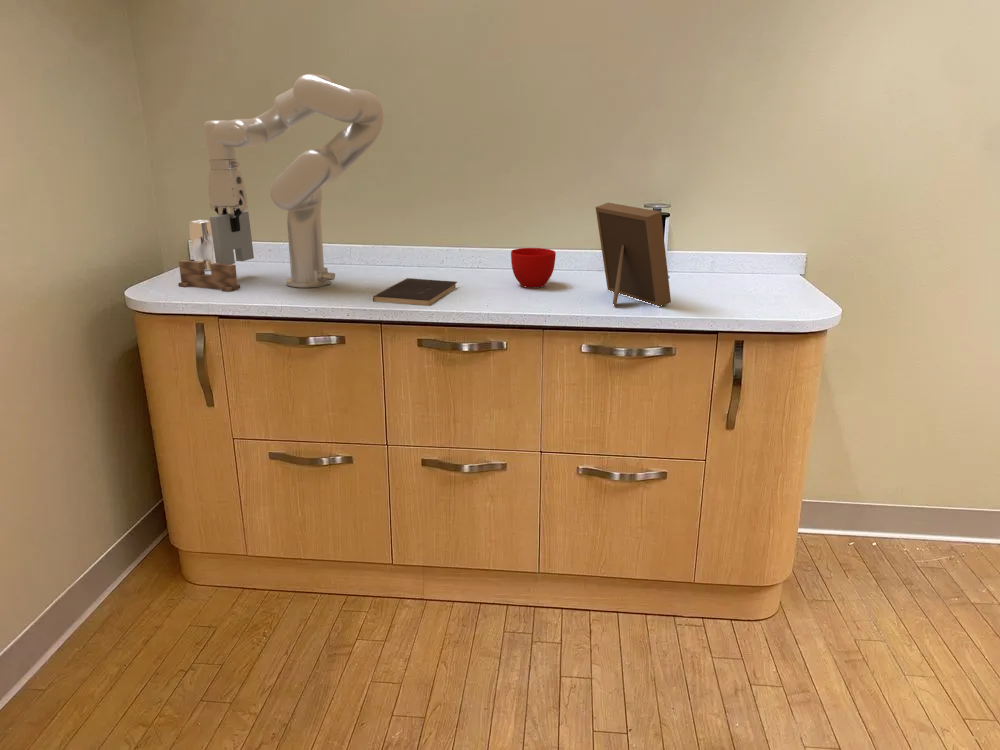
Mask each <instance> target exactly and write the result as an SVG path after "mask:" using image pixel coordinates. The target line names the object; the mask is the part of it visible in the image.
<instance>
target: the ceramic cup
mask: <svg viewBox="0 0 1000 750" xmlns="http://www.w3.org/2000/svg"><path fill="white" fill-rule="evenodd" d="M556 254H557V253H556V251H555V250H554V249H548V248H543V247H542V248H541V247H522V248H516V249H512V250H511V252H510V260H511V261H510V263H511V269H512V272H513V276H514V277H515V279H516V280H517V281H518V283H519V284H520V286H521V285H522V286H521V287H523V286H526V287H525V288H527V287H539V288H542V287H541V286H543V287H544V286H546V284H547V282H548V281H549V280H550V279H551V277H552V275H553V272H554V269H555V264H556V257H557V256H556Z"/></svg>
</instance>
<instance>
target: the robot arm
mask: <svg viewBox="0 0 1000 750" xmlns="http://www.w3.org/2000/svg"><path fill="white" fill-rule="evenodd" d="M317 114H320V115H324V116H325V117H328V118H331V119H334V120H337V121H339V122H343V123H346V124H347V125H346V126H344V127H343V128H342V129H340V130H339V131H338V132H337V133H336V134H335V135H334V136H333V137H332V138H331V139H330V140H329V141H328V142H326V143H325V144H324V145H322V146H320V147H313V148H310V149H307V150H305V151H303V152H302V153H301V154H299V155H298V156H297V157H296V158H295V159H294V160H293V161H292V162H291V163H290V164H289V165H288V166H287V167H285V169H284V170H282V171H281V172H280V173H279V174H278V175H277V177H276V178H275V179H274V180H273V182H272V183H271V186H270V197H271V200H272V202H273V203H274V205H275V206H276V207H278V208H279V209H281V210H285V211H287V214H286V215H287V216H286V227H287V241H288V251H289V255H288V256H289V265H290V266H289V267H290V275H291V276H290V277H289V278H287V279H286V280H285V284H286V285H287V286H288V287H291V288H292V287H293V288H304V289H305V288H307V289H308V288H319V287H323V286H328V285H330V283H331V281H334V280H335V279H336V273H335V272H329V271H328V267H325V262H324V261H325V259H324V258H325V257H324V246H323V245H324V244H323V243H324V242H323V232H322V229H323V228H322V227H323V226H322V202H323V190H322V186H324V185H325V184H330V183H333V182H335V181H337V180H339V178H340V177H341V176H342V175H343V174H345V172H346V171H347V170H348V169H350V167H352V166H353V165H354V164H355V163H356V162H357V161H358V160H359V159H360V158H361V156H363V155H364V154H365V153H366V152H367V151H368V150H369V149H370V148H371V147H372V145H374V143H376V141H377V140H378V138H379V137H380V134H381V132H382V129H383V125H384V110H383V107H382V104H381V101H380V100H379V99H378V97H377V96H376V95H375V94H374V93H372V92H371V91H369V90H366V89H355V88H349V87H346V86H344V85H340V84H337V83H335V82H334V81H333V79H331V78H330V77H328V76H327V75H323V74H314V73H307V74H306V73H305V74H302V75H301V76H299V77H298V78H297V79H296V81H295V82H294V85H293V87H292V88H290V89H288V90H286V91H284V92H282V93H280V94H279V95H277V96H275V98H274V105H273V106H272V107H271V108H270V109H268V110H266V111H265V112H263V113H262V114H259V115H257V116H255V117H253V118H236V119H231V120H223V119H221V120H220V119H216V120H214V119H213V120H207V121H205V122H204V124H203V128H204V129H203V130H204V131H203V132H204V138H205V145H206V151H207V160H208V166H209V171H208V175H207V177H208V178H207V181H208V182H207V185H208V186H207V187H208V198H209V202H210V203H209V208H210V209H211V210H213V211H215V213H216V214H217V216H218V215H223V214H229V210H230V213H231V217H232V218H230V222H231V230H232V232H237V231H240V222H239V217H240V216H241V213H242V212H243V211H246V210H248V209H249V206H248V205H247V204H248V196H247V195H248V194H247V189H246V185H245V181H244V177H243V175H242V172H241V170H238V169H239V168H238V167H240V165H241V164H240V162H239V161H237V154H236V148H242V149H243V148H249V147H250V148H251V147H259V146H263V145H264V144H267V143H268V142H270V141H272V140H275V139H276V138H278V137H280V136H282V135H284V134H285V133H286V132H288V131H290V130H291V129H292V128H293V127H294V126H296V125H299V124H300V123H301V122H303V121H305V120H307V119H309V118H312V116H315V115H317ZM228 208H229V209H228Z"/></svg>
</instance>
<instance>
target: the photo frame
mask: <svg viewBox="0 0 1000 750" xmlns="http://www.w3.org/2000/svg"><path fill="white" fill-rule="evenodd" d="M594 208H595V214H596V219H597V220H596V221H597V227H598V234H599V241H600V246H601V252H602V253H601V254H602V259H603V268H604V274H605V279H606V280H605V281H606V287H607V288H606V289H607V291H608V290H610V291H613V292H614V293H613V297H612V298H613V299H612V305H613V304H614V306H616V307H617V305H618V299H619V295H618V294H619V293H620V294H623V295H627V296H630V297H633V298H636V299H639V300H642V301H645V302H648V303H651V304H654V305H657V306H661V305H664V306H665V305H668V304H670V303H671V302H672V298H671V290H670V289H671V288H670V281H669V271H668V264H667V262H668V261H667V254H666V244H665V236H664V226H663V225H664V224H663V216H662V211H659V210H652V209H648V208H642V207H641V208H640V207H635V206H629V205H625V204H624V205H623V204H618V203H612V202H606V203H603V204H601V205H598V206H595V207H594ZM614 306H613V307H614ZM661 307H662V306H661Z"/></svg>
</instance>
